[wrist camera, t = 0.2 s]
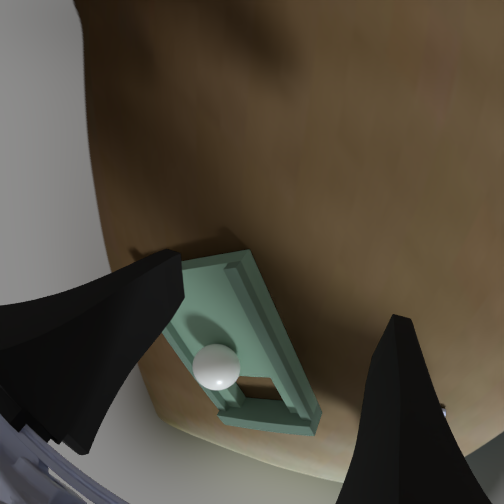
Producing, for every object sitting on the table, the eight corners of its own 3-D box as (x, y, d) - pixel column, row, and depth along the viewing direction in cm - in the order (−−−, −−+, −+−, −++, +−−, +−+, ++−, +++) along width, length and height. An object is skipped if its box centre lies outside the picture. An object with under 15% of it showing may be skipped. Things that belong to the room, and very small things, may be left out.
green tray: (322, 412, 30) (314, 436, 28) (234, 404, 35) (224, 424, 33) (249, 249, 22) (231, 273, 20) (145, 267, 28) (125, 287, 25)
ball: (254, 366, 27) (236, 402, 24) (218, 364, 29) (198, 396, 26) (236, 334, 25) (214, 370, 22) (198, 333, 27) (175, 366, 24)
